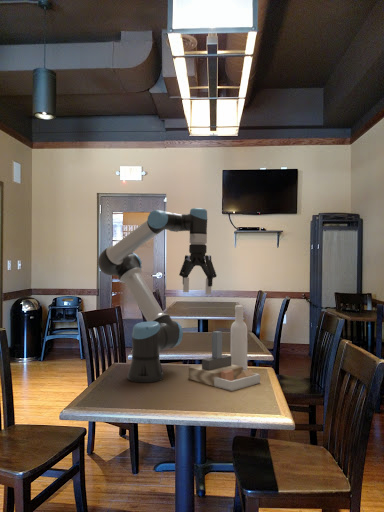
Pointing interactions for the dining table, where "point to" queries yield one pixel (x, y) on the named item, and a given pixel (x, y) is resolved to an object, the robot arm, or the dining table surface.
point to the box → (237, 382)
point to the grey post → (216, 354)
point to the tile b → (245, 374)
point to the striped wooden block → (211, 373)
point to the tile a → (227, 375)
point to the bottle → (239, 339)
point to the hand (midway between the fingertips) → (196, 293)
